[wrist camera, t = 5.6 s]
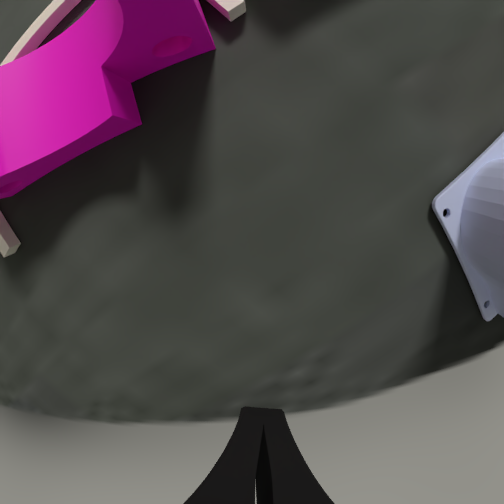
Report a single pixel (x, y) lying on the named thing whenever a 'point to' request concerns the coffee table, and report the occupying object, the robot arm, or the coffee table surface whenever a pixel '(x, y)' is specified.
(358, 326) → the coffee table surface
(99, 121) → the toy block
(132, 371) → the coffee table surface
